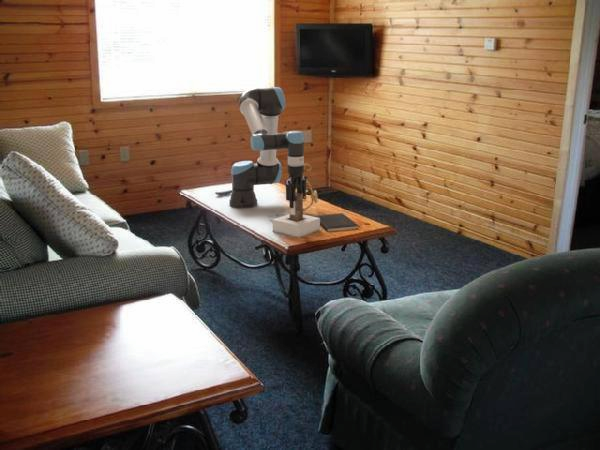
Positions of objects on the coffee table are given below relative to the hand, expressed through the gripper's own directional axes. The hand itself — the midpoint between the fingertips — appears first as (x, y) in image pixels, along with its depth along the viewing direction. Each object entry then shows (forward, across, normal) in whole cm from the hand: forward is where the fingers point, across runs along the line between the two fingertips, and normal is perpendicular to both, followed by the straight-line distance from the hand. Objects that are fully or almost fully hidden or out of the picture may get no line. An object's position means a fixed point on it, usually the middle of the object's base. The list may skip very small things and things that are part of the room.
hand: (296, 213), depth 333 cm
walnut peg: (+5, 0, 0) cm, 5 cm away
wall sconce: (+9, +31, +21) cm, 39 cm away
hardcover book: (+10, +21, -7) cm, 24 cm away
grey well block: (+9, 0, 0) cm, 9 cm away
